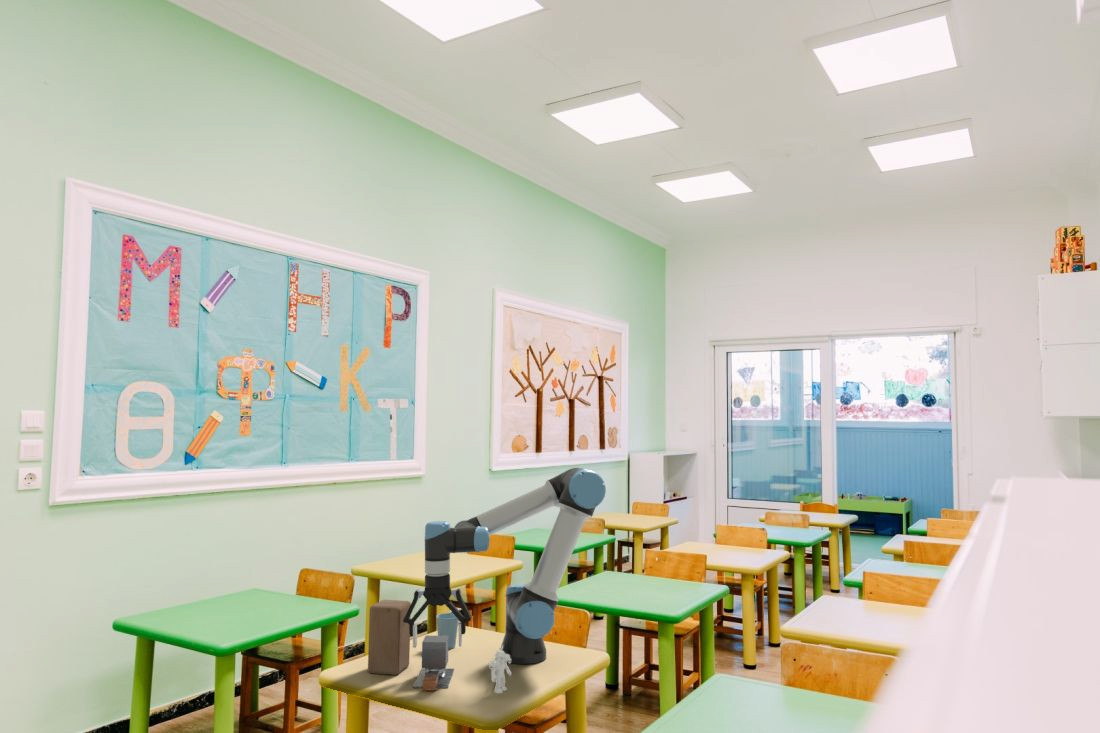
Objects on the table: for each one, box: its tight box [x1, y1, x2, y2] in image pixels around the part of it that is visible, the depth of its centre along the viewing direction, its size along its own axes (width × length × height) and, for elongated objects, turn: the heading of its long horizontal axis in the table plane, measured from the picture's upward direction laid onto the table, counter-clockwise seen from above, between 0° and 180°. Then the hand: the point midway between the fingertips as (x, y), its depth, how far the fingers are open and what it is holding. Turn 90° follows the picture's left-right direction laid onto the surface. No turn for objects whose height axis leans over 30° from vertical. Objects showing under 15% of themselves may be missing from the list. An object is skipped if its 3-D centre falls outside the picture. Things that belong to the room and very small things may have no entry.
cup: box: [435, 612, 460, 650], centre depth 251 cm, size 8×8×10 cm
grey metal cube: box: [421, 635, 449, 669], centre depth 221 cm, size 7×7×8 cm
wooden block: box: [367, 599, 412, 676], centre depth 227 cm, size 10×10×20 cm
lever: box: [412, 668, 455, 691], centre depth 217 cm, size 10×19×7 cm, turn 1°
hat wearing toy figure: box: [488, 646, 512, 694], centre depth 209 cm, size 9×4×12 cm, turn 148°
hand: (437, 645), depth 221 cm, fingers open, 13 cm apart
